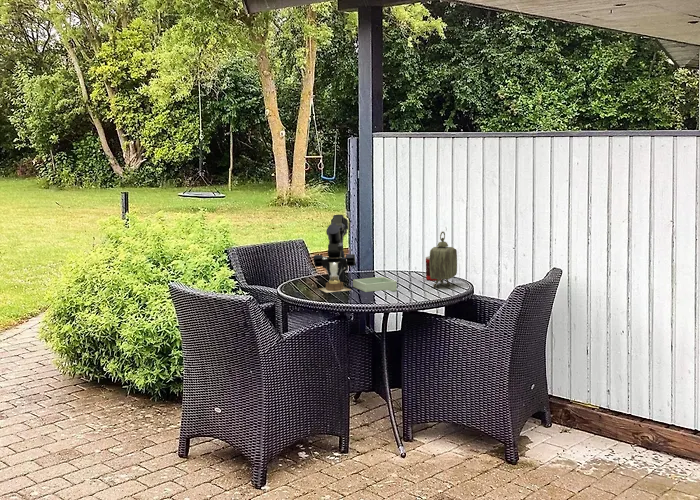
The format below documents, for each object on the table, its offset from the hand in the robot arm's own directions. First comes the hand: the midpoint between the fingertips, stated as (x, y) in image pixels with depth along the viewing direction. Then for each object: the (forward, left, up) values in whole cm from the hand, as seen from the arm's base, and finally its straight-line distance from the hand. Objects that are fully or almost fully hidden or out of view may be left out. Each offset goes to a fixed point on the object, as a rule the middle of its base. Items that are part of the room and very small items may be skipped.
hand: (333, 275), depth 348 cm
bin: (-18, +5, -8) cm, 20 cm away
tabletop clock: (-50, +11, -8) cm, 51 cm away
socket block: (-1, -1, -8) cm, 8 cm away
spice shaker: (-1, -1, -5) cm, 6 cm away
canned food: (-54, -7, -8) cm, 55 cm away
